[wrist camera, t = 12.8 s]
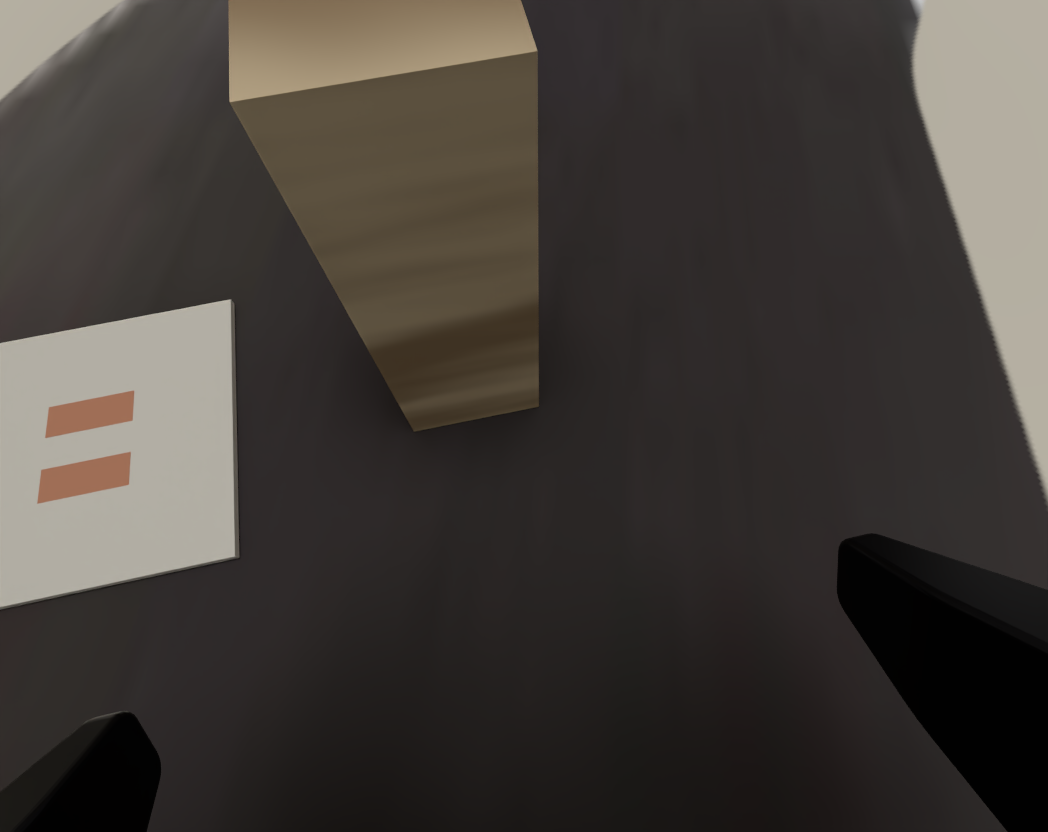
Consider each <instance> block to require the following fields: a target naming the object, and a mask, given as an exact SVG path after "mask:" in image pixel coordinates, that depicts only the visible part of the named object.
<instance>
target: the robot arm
mask: <svg viewBox="0 0 1048 832" xmlns="http://www.w3.org/2000/svg"><path fill="white" fill-rule="evenodd" d="M837 594H838V599H839V602H840V604H841V606H842V608H843V610H844V612H845V613H846V615H847V616H848V618H849V619H850V621H851V622H852V624H853V625H854V627H855V628H856V630H857V631H858V632H859V634H860V635H861V637H862V638H863V640H864V641H865V643H866V644H867V646H868V647H869V649H870V650H871V652H872V653H873V655H874V656H875V658H876V659H877V661H878V662H879V664H880V665H881V667H882V668H883V670H884V671H885V673H886V674H887V676H888V677H889V679H890V680H891V682H892V683H893V685H894V686H895V688H896V689H897V691H898V692H899V694H900V695H901V697H902V698H903V700H904V701H905V703H906V704H907V705H908V707H909V708H910V710H911V711H912V713H913V714H914V715H915V717H916V718H917V720H918V721H919V722H920V723H921V725H922V726H923V727H924V729H925V730H926V731H927V732H928V734H929V735H930V736H931V738H932V739H933V740H934V741H935V743H936V744H937V745H938V746H939V747H940V749H941V750H942V751H943V752H944V754H945V755H946V756H947V757H948V759H949V760H950V761H951V762H952V764H953V765H954V766H955V767H956V768H957V770H958V771H959V772H960V773H961V775H962V776H963V777H964V778H965V780H966V781H967V782H968V783H969V785H970V786H971V787H972V788H973V790H974V791H975V792H976V793H977V794H978V796H979V797H980V798H981V799H982V801H983V802H984V803H985V804H986V806H987V807H988V808H989V809H990V811H991V812H992V813H993V814H994V815H995V817H996V818H997V819H998V820H999V822H1000V823H1001V824H1002V825H1003V827H1004V828H1005V829H1006V830H1007V832H1048V590H1047V589H1044V588H1041V587H1038V586H1035V585H1032V584H1029V583H1025V582H1022V581H1019V580H1016V579H1013V578H1010V577H1007V576H1004V575H1001V574H998V573H995V572H992V571H989V570H986V569H983V568H980V567H977V566H973V565H970V564H967V563H964V562H961V561H958V560H955V559H952V558H949V557H946V556H943V555H940V554H937V553H934V552H931V551H928V550H925V549H921V548H918V547H915V546H912V545H909V544H906V543H903V542H900V541H897V540H894V539H891V538H888V537H885V536H882V535H879V534H873V533H871V534H865V535H860V536H856V537H852V538H848V539H845V540H844V541H842V542H841V544H840V546H839V550H838V572H837ZM160 776H161V762H160V758H159V755H158V753H157V751H156V749H155V748H154V746H153V744H152V743H151V741H150V739H149V738H148V736H147V734H146V733H145V731H144V729H143V728H142V726H141V724H140V723H139V721H138V719H137V718H136V716H135V715H134V714H132V713H130V712H128V711H120V712H115V713H111V714H107V715H103V716H99V717H95V718H92V719H90V720H88V721H86V722H85V723H84V724H82V725H81V726H80V727H79V728H78V729H76V730H75V731H74V732H73V733H71V734H70V735H69V736H68V737H67V738H65V739H64V740H63V741H62V742H60V743H59V744H58V745H57V746H56V747H54V748H53V749H52V750H51V751H50V752H48V753H47V754H46V755H45V756H43V757H42V758H41V759H40V760H39V761H37V762H36V763H35V764H34V765H32V766H31V767H30V768H29V769H28V770H26V771H25V772H24V773H23V774H22V775H20V776H19V777H18V778H17V779H15V780H14V781H13V782H12V783H11V784H9V785H8V786H7V787H6V788H4V789H3V790H2V791H1V792H0V832H147V828H148V824H149V820H150V816H151V812H152V808H153V804H154V801H155V797H156V793H157V789H158V785H159V781H160Z"/></svg>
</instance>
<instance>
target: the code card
mask: <svg viewBox="0 0 1048 832" xmlns="http://www.w3.org/2000/svg"><path fill="white" fill-rule="evenodd" d="M237 558H239V512H238V461H237V409H236V357H235V305H234V303H233V302H232V300H231V299H230V300H225V301H220V302H215V303H209V304H204V305H199V306H194V307H188V308H183V309H178V310H173V311H167V312H162V313H157V314H152V315H146V316H141V317H136V318H131V319H125V320H120V321H115V322H110V323H104V324H99V325H94V326H89V327H83V328H78V329H73V330H68V331H62V332H57V333H52V334H46V335H41V336H36V337H31V338H25V339H20V340H15V341H10V342H4V343H0V610H1V609H6V608H10V607H15V606H20V605H24V604H29V603H33V602H38V601H43V600H47V599H52V598H57V597H61V596H66V595H70V594H75V593H80V592H84V591H89V590H93V589H98V588H103V587H107V586H112V585H117V584H121V583H126V582H130V581H135V580H140V579H144V578H149V577H154V576H158V575H163V574H167V573H172V572H177V571H181V570H186V569H191V568H195V567H200V566H204V565H209V564H214V563H218V562H223V561H228V560H232V559H237Z"/></svg>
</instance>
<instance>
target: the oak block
mask: <svg viewBox="0 0 1048 832" xmlns="http://www.w3.org/2000/svg"><path fill="white" fill-rule="evenodd" d="M229 96H230V104H231V106H232V107H233V109H234V111H235V113H236V115H237V116H238V118H239V120H240V122H241V123H242V125H243V127H244V129H245V131H246V132H247V134H248V136H249V138H250V140H251V141H252V143H253V145H254V147H255V149H256V150H257V152H258V154H259V156H260V157H261V159H262V161H263V163H264V165H265V166H266V168H267V170H268V172H269V174H270V175H271V177H272V179H273V181H274V182H275V184H276V186H277V188H278V190H279V191H280V193H281V195H282V197H283V199H284V200H285V202H286V204H287V206H288V208H289V209H290V211H291V213H292V215H293V216H294V218H295V220H296V222H297V224H298V225H299V227H300V229H301V231H302V233H303V234H304V236H305V238H306V240H307V241H308V243H309V245H310V247H311V249H312V250H313V252H314V254H315V256H316V258H317V259H318V261H319V263H320V265H321V267H322V268H323V270H324V272H325V274H326V275H327V277H328V279H329V281H330V283H331V284H332V286H333V288H334V290H335V292H336V293H337V295H338V297H339V299H340V300H341V302H342V304H343V306H344V308H345V309H346V311H347V313H348V315H349V317H350V318H351V320H352V322H353V324H354V325H355V327H356V329H357V331H358V333H359V334H360V336H361V338H362V340H363V342H364V343H365V345H366V347H367V349H368V351H369V352H370V354H371V356H372V358H373V359H374V361H375V363H376V365H377V367H378V368H379V370H380V372H381V374H382V376H383V377H384V379H385V381H386V383H387V384H388V386H389V388H390V390H391V392H392V393H393V395H394V397H395V399H396V401H397V402H398V404H399V406H400V408H401V410H402V411H403V413H404V415H405V417H406V418H407V420H408V422H409V424H410V426H411V427H412V429H413V431H414V432H415V431H420V430H425V429H430V428H435V427H440V426H445V425H450V424H455V423H460V422H465V421H470V420H475V419H480V418H485V417H490V416H495V415H500V414H505V413H510V412H515V411H520V410H525V409H530V408H535V407H539V307H538V79H537V48H536V45H535V42H534V39H533V36H532V33H531V30H530V27H529V24H528V21H527V18H526V14H525V11H524V8H523V5H522V2H521V0H229Z"/></svg>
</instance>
